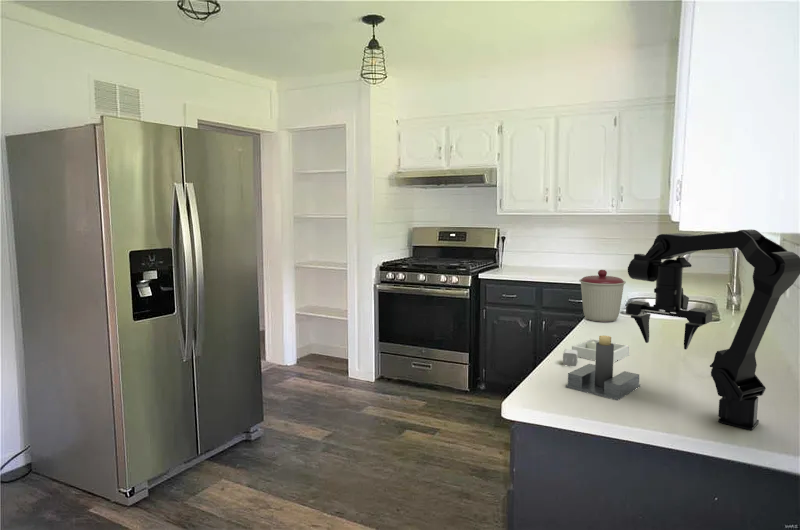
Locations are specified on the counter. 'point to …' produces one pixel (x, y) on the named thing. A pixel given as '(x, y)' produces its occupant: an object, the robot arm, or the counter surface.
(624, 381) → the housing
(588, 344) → the pipe fitting
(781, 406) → the counter surface
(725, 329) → the counter surface
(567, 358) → the usb wall charger
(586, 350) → the parts tray
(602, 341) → the grey and tan cylinder
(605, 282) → the canister
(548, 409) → the counter surface
